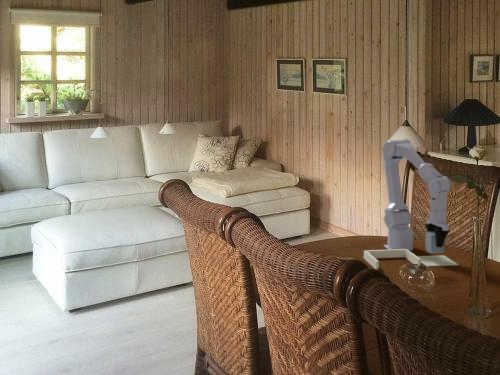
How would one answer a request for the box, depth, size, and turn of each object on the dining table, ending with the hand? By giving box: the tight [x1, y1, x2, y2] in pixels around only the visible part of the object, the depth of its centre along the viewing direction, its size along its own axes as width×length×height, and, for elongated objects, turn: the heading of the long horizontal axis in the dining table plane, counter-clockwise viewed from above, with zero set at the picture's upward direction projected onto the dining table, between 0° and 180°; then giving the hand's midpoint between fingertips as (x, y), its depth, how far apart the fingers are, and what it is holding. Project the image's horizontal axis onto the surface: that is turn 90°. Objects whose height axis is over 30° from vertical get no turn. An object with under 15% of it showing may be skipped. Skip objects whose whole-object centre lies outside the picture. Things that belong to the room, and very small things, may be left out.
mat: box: [416, 254, 459, 268], centre depth 228 cm, size 12×12×1 cm
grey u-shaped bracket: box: [363, 249, 422, 270], centre depth 226 cm, size 17×14×3 cm
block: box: [425, 231, 445, 254], centre depth 226 cm, size 5×5×7 cm
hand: (436, 244), depth 227 cm, fingers closed on block, 5 cm apart
